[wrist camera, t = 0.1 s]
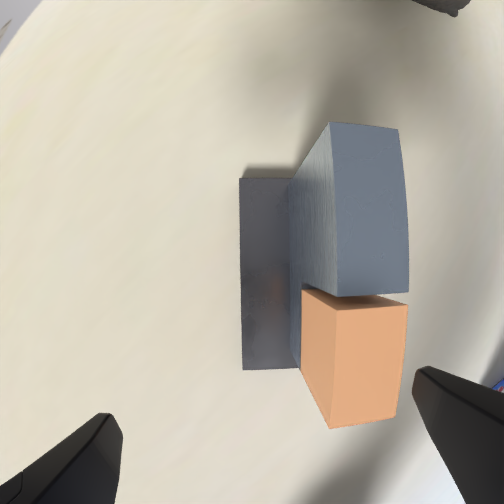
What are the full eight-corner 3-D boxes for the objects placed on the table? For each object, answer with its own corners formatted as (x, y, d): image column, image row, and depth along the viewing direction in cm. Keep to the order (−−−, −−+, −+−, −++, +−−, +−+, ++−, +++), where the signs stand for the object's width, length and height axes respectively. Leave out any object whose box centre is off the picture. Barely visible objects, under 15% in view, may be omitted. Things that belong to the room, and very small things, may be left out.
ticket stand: (364, 356, 23) (449, 425, 11) (242, 364, 23) (242, 462, 10) (364, 184, 23) (457, 131, 11) (239, 182, 23) (235, 107, 11)
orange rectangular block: (346, 365, 18) (394, 417, 11) (299, 369, 18) (329, 428, 11) (349, 287, 18) (408, 305, 11) (300, 289, 18) (336, 310, 11)
